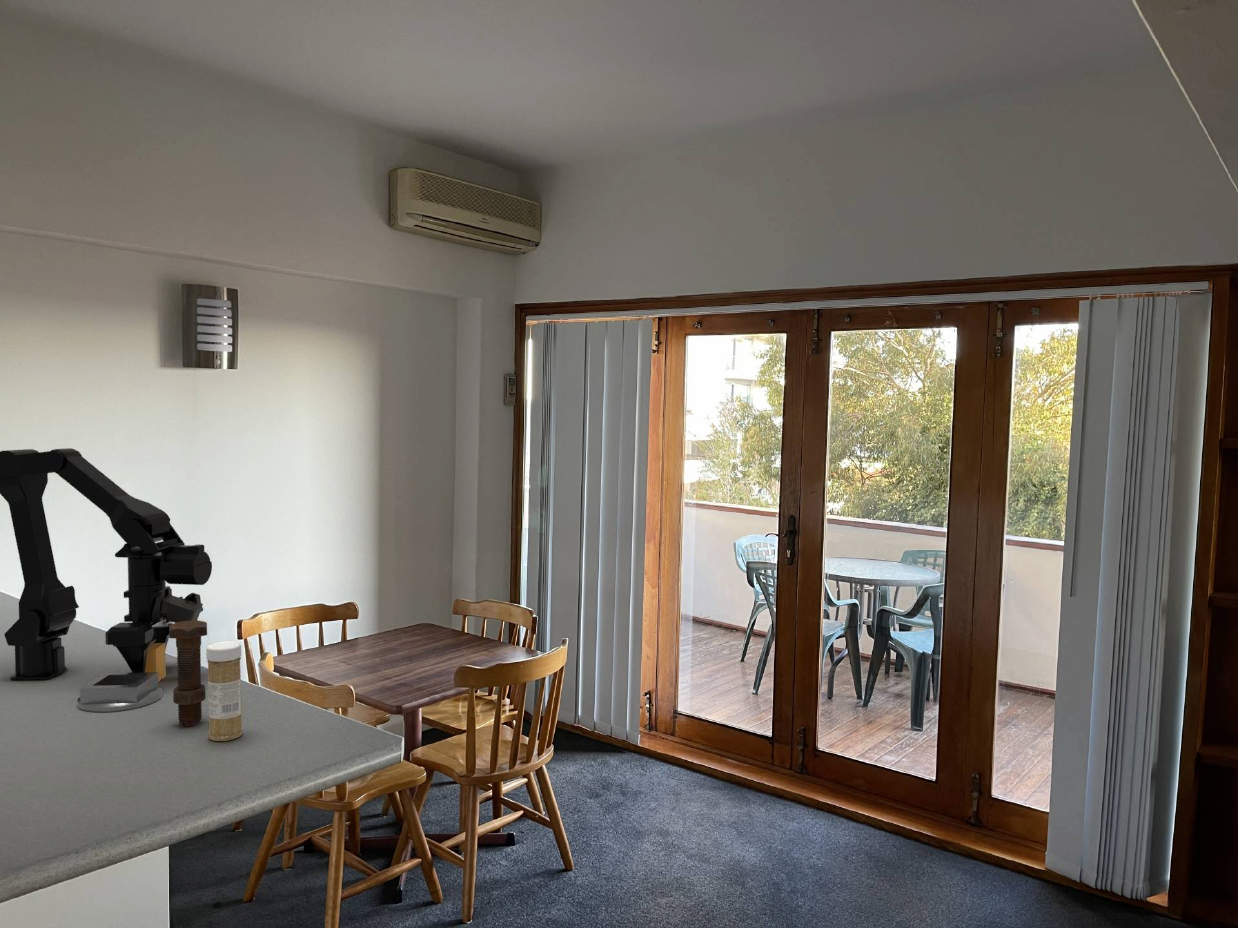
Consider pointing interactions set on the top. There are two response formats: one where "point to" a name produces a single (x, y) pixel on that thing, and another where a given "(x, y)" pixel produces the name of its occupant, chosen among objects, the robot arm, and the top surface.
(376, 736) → the top surface
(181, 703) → the bolt
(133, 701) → the rosette collar
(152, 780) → the top surface
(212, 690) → the spice jar
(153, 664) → the orange rectangular block
